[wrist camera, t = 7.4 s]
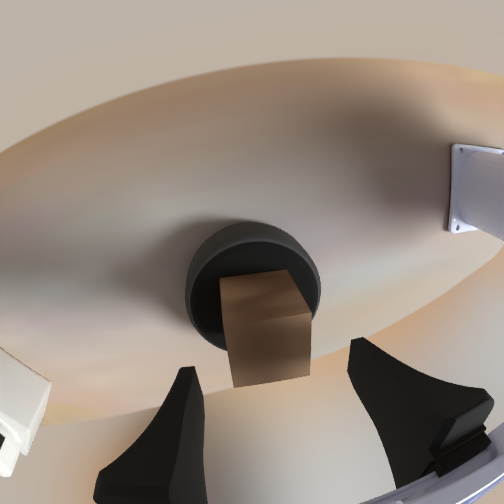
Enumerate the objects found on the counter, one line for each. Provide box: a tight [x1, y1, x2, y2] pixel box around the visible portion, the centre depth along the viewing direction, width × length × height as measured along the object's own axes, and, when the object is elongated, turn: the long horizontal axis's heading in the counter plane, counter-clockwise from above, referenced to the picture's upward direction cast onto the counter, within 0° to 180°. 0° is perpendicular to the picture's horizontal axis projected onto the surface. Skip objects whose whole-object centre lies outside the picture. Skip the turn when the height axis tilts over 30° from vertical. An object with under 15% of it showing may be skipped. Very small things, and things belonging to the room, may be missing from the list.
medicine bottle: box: [0, 348, 52, 477], centre depth 18 cm, size 7×7×12 cm
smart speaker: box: [185, 223, 321, 351], centre depth 21 cm, size 9×9×4 cm
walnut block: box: [220, 269, 312, 388], centre depth 16 cm, size 4×4×5 cm
